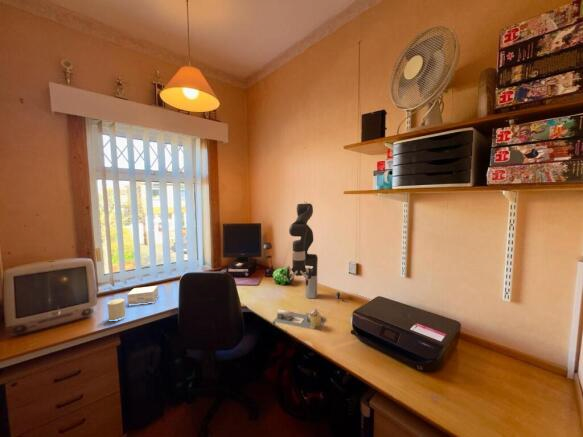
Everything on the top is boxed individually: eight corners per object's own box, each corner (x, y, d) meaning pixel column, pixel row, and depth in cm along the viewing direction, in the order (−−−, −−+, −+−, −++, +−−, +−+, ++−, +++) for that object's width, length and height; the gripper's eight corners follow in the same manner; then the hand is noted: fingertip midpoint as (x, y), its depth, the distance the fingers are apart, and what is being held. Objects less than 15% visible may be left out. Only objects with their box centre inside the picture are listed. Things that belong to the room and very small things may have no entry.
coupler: (310, 325, 141) (310, 312, 141) (316, 323, 143) (316, 311, 143) (313, 329, 137) (313, 316, 137) (320, 327, 139) (320, 314, 139)
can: (105, 320, 154) (103, 302, 153) (119, 314, 162) (118, 297, 161) (114, 323, 150) (113, 304, 149) (129, 316, 159) (128, 298, 158)
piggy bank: (286, 287, 206) (286, 270, 205) (269, 284, 216) (269, 267, 215) (295, 282, 218) (295, 266, 217) (279, 279, 228) (278, 264, 227)
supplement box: (158, 296, 191) (157, 285, 191) (153, 303, 179) (153, 291, 178) (134, 299, 187) (133, 287, 186) (127, 306, 174) (126, 294, 174)
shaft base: (283, 311, 162) (283, 303, 161) (327, 319, 150) (327, 310, 150) (272, 323, 147) (272, 314, 146) (320, 332, 136) (320, 322, 135)
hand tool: (357, 338, 130) (357, 330, 129) (350, 336, 132) (350, 328, 132) (370, 324, 145) (370, 316, 144) (363, 322, 147) (363, 314, 147)
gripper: (310, 256, 144) (311, 283, 145) (287, 256, 144) (287, 283, 146) (311, 259, 136) (311, 287, 137) (286, 260, 137) (286, 287, 138)
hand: (299, 285), depth 141 cm, fingers open, 8 cm apart
